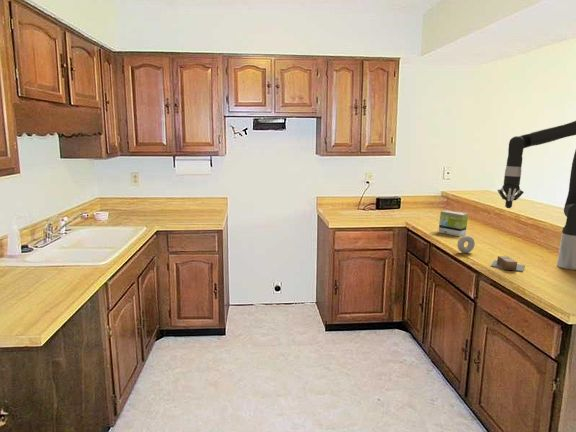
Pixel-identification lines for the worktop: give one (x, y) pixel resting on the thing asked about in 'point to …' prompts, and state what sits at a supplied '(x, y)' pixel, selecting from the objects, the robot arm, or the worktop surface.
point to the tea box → (453, 223)
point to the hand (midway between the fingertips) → (508, 207)
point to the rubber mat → (494, 264)
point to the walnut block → (507, 263)
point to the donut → (470, 244)
